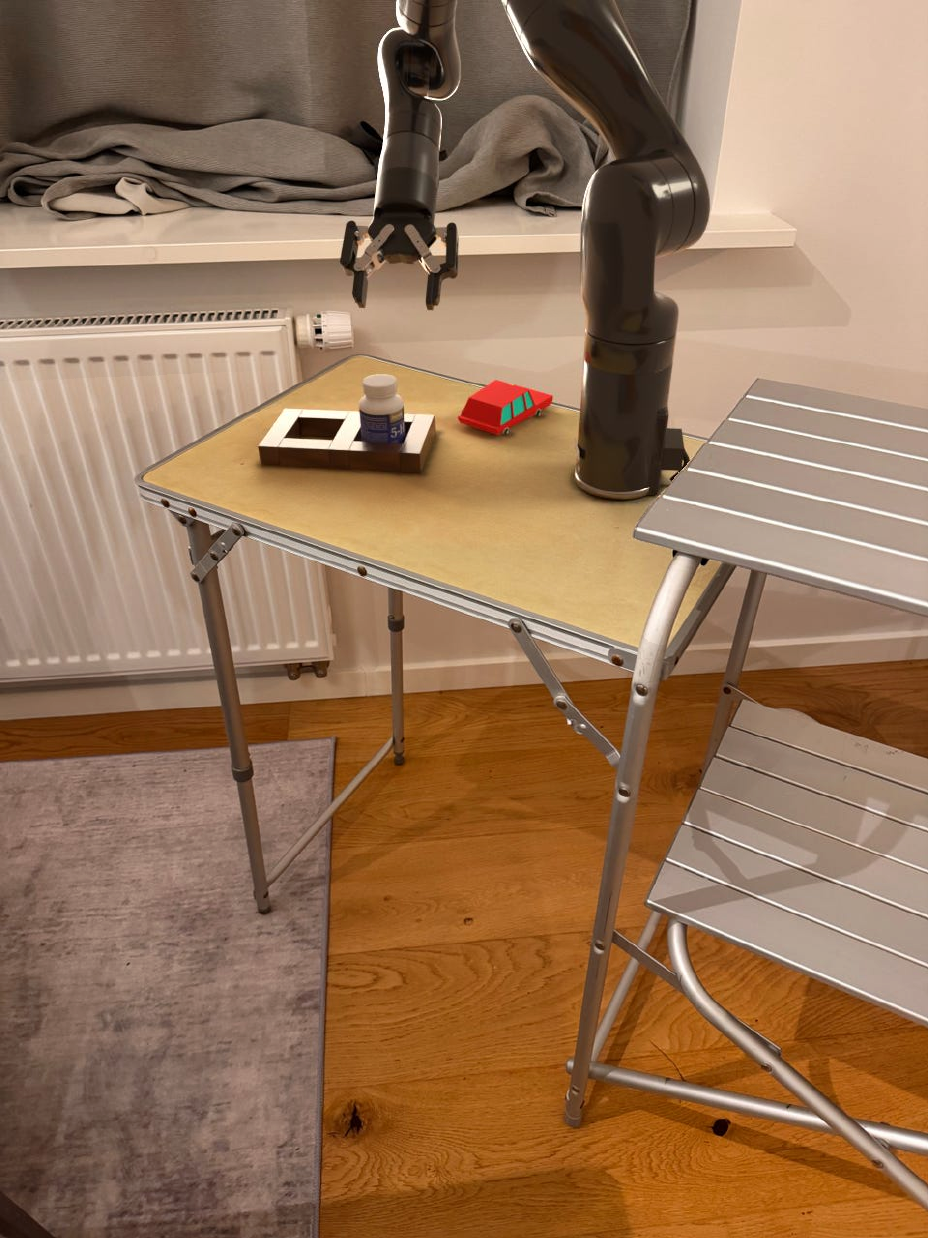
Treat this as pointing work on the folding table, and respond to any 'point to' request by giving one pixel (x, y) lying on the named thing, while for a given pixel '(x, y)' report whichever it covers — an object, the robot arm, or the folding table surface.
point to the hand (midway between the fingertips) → (395, 306)
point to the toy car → (502, 407)
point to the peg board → (344, 442)
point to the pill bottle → (381, 410)
